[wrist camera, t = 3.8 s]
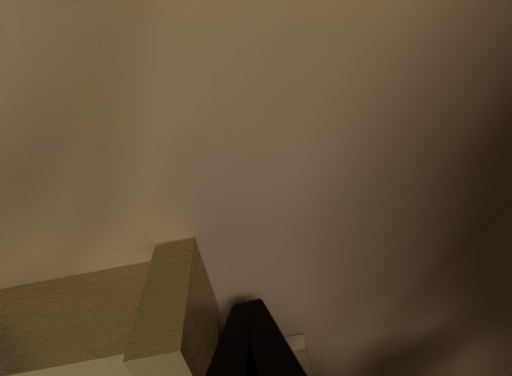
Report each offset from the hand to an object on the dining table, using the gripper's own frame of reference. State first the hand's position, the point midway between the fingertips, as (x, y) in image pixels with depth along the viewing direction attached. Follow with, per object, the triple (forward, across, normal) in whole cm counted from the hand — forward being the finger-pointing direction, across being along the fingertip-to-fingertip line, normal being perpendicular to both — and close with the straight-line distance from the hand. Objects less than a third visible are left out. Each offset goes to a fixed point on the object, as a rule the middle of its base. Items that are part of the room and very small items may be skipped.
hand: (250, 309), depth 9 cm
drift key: (+2, +6, 0) cm, 7 cm away
